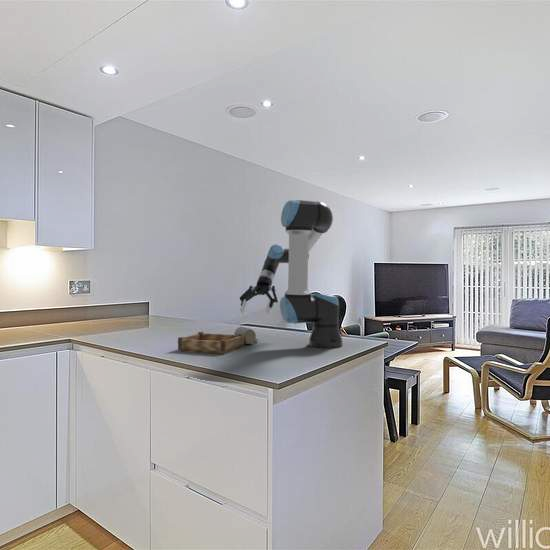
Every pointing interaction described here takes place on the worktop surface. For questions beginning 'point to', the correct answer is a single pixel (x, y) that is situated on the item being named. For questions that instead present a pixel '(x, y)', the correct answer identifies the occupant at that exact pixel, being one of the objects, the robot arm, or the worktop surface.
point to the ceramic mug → (246, 335)
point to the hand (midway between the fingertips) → (254, 311)
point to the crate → (210, 343)
